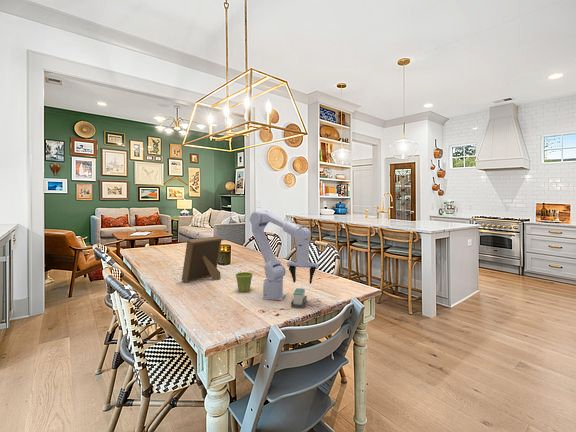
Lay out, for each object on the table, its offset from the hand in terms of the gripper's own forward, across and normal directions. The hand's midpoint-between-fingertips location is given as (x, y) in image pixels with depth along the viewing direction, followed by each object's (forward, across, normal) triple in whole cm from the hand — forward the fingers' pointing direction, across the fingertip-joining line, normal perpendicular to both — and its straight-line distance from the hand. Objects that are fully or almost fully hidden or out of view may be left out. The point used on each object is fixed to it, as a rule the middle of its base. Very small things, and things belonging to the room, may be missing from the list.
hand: (302, 282), depth 140 cm
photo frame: (+10, -64, +25) cm, 69 cm away
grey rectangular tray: (+10, -1, -1) cm, 10 cm away
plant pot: (+10, -34, +12) cm, 37 cm away
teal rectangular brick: (+9, -1, -1) cm, 9 cm away
